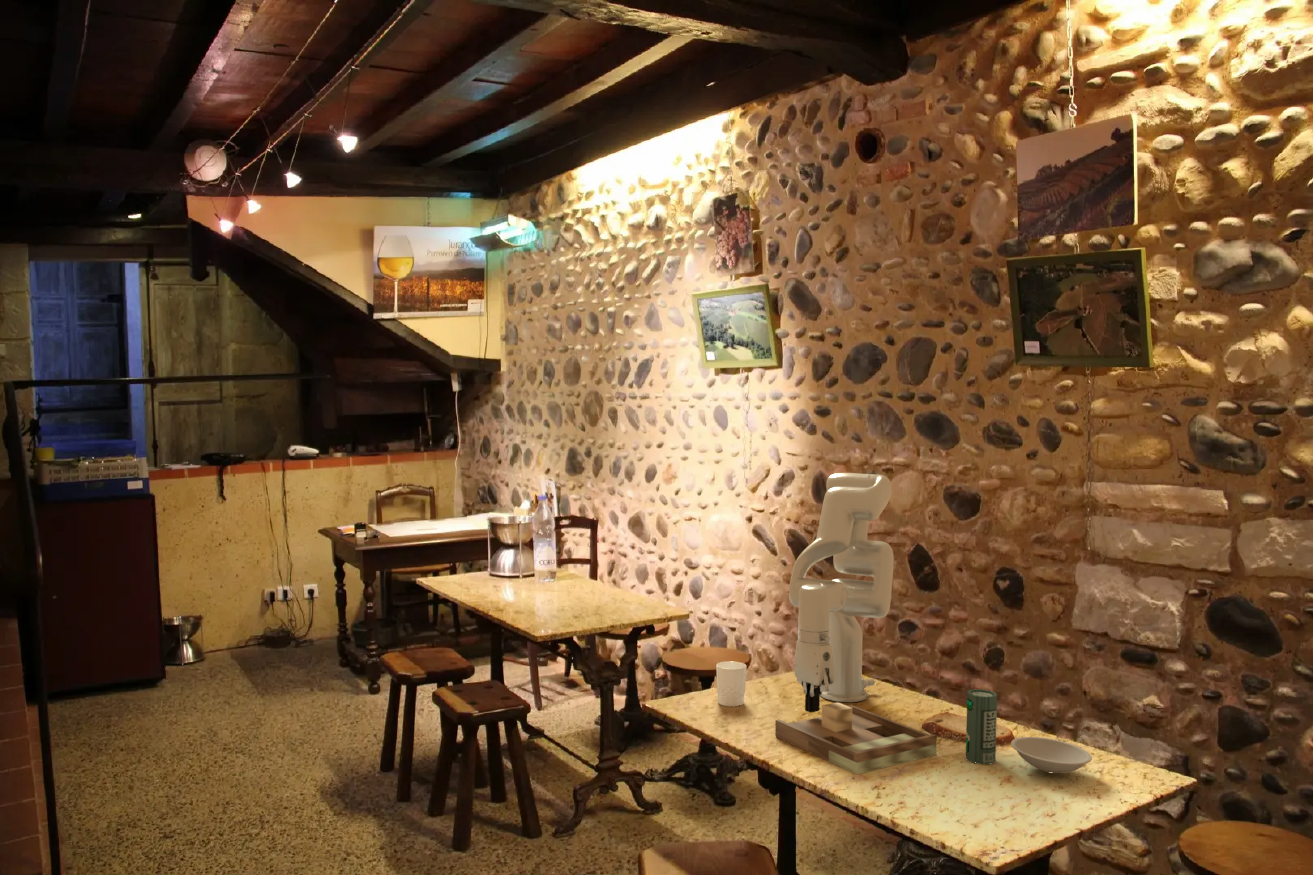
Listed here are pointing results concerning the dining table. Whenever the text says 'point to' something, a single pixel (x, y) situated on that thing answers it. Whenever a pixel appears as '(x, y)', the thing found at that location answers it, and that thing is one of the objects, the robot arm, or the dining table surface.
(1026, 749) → the dish
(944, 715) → the bread slice
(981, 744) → the can
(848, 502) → the robot arm
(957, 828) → the dining table surface
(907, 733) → the box
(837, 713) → the maple block
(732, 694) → the white cup
